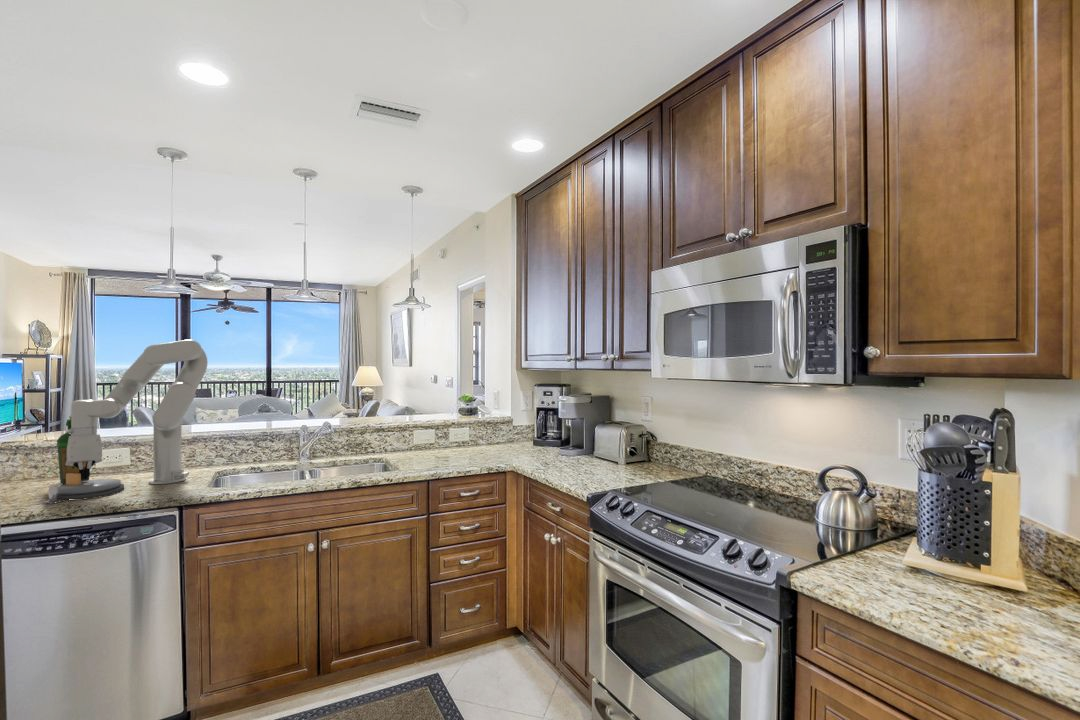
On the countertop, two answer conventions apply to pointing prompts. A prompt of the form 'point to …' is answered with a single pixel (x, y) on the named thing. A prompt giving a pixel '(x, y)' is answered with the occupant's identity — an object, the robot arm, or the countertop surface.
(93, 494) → the turntable base
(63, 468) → the bottle
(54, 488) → the capsule on square base
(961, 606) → the countertop surface
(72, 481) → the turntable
